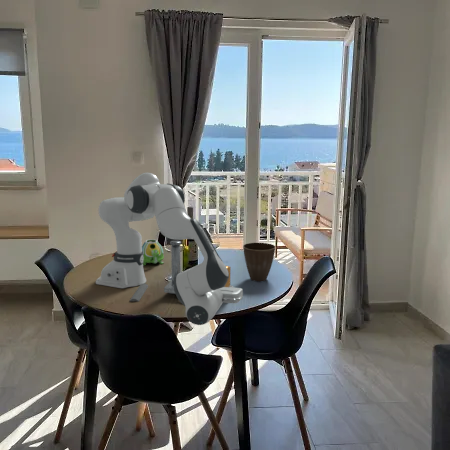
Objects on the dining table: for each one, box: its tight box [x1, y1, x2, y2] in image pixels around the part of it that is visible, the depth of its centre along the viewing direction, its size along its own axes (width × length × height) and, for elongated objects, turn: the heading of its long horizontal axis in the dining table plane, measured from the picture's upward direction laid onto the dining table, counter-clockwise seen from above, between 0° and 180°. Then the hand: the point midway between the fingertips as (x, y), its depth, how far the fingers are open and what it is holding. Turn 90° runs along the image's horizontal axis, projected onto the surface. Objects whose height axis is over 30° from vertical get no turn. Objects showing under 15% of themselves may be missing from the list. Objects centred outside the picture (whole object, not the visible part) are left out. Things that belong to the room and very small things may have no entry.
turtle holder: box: [142, 239, 165, 266], centre depth 229 cm, size 12×18×12 cm
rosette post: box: [163, 240, 182, 295], centre depth 182 cm, size 14×11×22 cm
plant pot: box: [242, 242, 276, 282], centre depth 205 cm, size 15×15×16 cm
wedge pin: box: [224, 265, 232, 287], centre depth 177 cm, size 4×4×14 cm
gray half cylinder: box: [129, 282, 149, 303], centre depth 185 cm, size 4×20×2 cm, turn 178°
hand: (219, 286), depth 166 cm, fingers open, 8 cm apart
